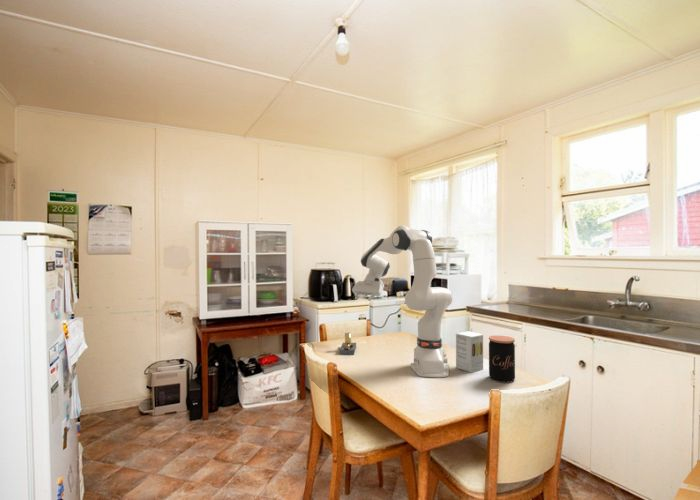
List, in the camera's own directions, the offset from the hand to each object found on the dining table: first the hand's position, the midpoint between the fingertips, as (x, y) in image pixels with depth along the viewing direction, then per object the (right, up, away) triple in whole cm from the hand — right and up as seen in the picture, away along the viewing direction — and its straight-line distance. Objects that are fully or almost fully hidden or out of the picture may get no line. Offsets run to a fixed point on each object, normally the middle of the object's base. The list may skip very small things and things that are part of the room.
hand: (362, 299), depth 214 cm
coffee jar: (+60, -27, -58) cm, 88 cm away
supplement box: (+50, -28, -44) cm, 72 cm away
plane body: (-9, -28, -12) cm, 31 cm away
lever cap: (-9, -28, -12) cm, 31 cm away
